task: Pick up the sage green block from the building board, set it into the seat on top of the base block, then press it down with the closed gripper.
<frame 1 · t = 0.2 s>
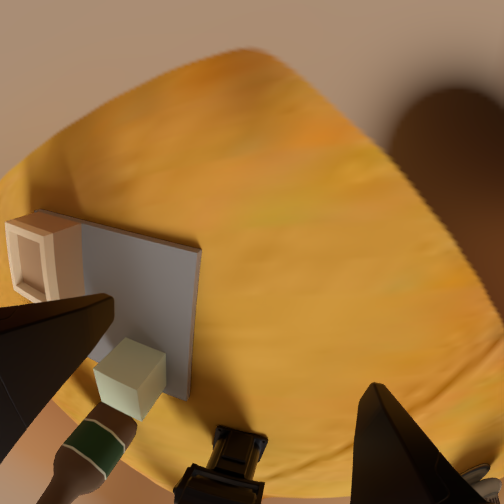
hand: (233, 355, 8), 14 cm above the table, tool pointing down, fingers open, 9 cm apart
green block: (145, 362, 28), point 1 cm above the table, touching building board
building board: (104, 303, 28), on the table
apothecary jar: (467, 476, 27), on the table
beer bottle: (119, 416, 36), on the table
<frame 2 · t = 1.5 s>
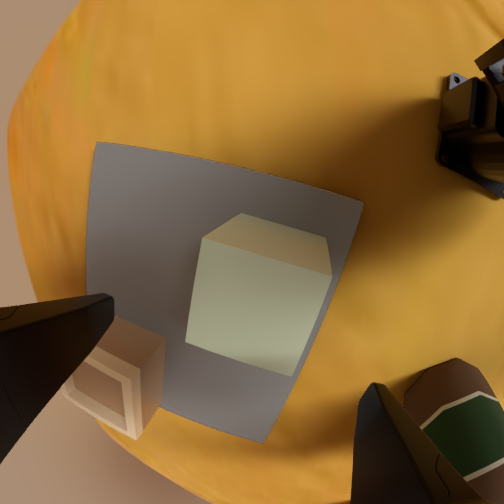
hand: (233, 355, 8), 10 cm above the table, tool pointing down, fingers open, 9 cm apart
green block: (272, 265, 17), point 1 cm above the table, touching building board
building board: (186, 314, 20), on the table
beer bottle: (439, 389, 18), on the table
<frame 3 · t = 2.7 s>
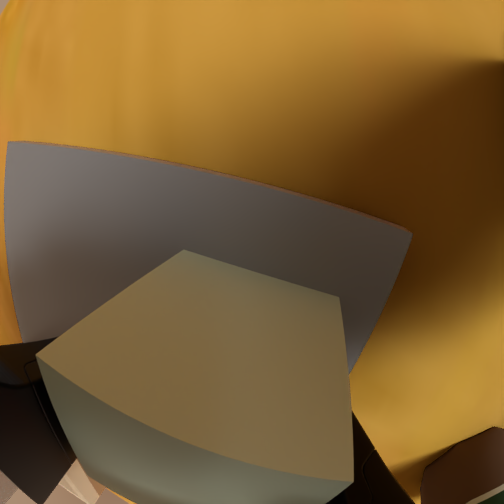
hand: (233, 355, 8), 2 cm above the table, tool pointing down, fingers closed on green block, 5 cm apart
green block: (241, 338, 9), point 1 cm above the table, touching building board, gripper
building board: (131, 380, 13), on the table
beer bottle: (466, 457, 11), on the table
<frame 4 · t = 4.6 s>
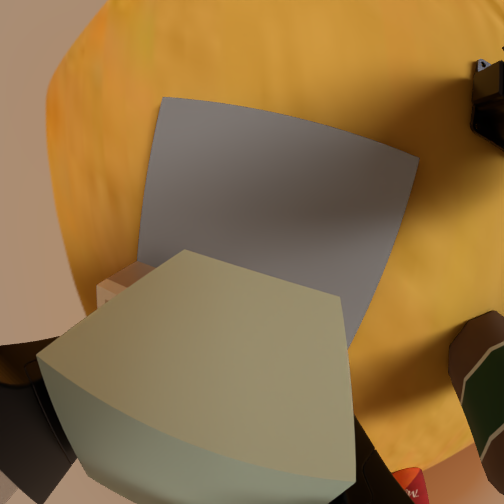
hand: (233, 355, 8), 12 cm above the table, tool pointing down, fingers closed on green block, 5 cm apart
green block: (242, 338, 9), point 11 cm above the table, touching gripper
building board: (249, 268, 21), on the table
paper cup: (403, 475, 26), on the table
beer bottle: (478, 344, 19), on the table
when the fingers open (8 cm above the table, at t = 6.3 s): green block drops 2 cm, resting on building board.
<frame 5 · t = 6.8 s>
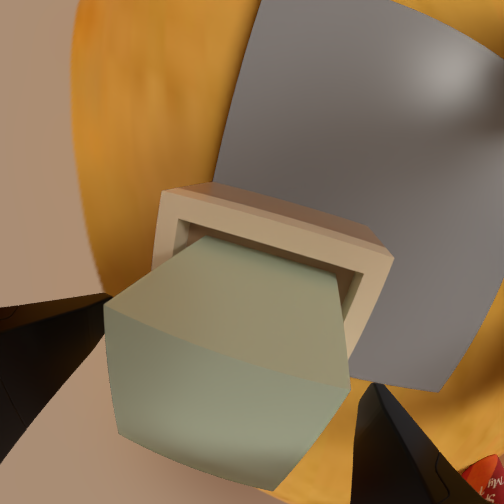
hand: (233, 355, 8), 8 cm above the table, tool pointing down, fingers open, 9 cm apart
green block: (253, 311, 11), point 5 cm above the table, touching building board
building board: (391, 191, 13), on the table
paper cup: (478, 466, 18), on the table
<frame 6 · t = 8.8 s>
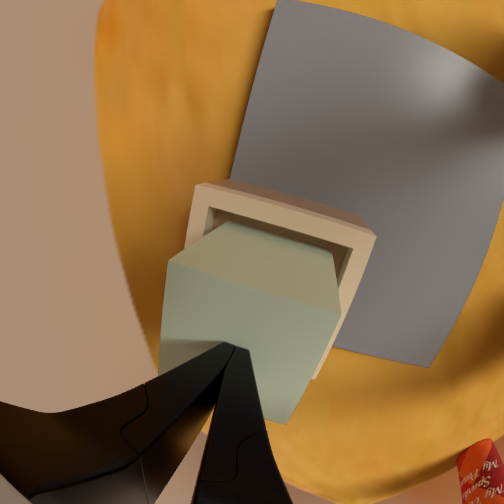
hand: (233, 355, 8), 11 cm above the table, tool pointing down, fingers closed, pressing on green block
green block: (266, 283, 14), point 5 cm above the table, touching building board, gripper
building board: (380, 187, 16), on the table
paper cup: (474, 450, 21), on the table
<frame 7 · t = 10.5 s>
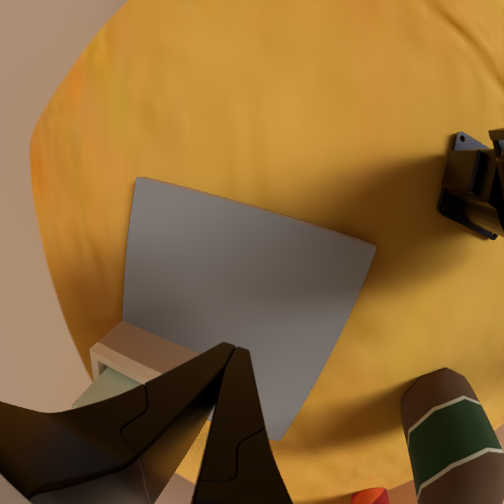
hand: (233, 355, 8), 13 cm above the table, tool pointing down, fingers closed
green block: (137, 393, 21), point 5 cm above the table, touching building board
building board: (219, 333, 23), on the table
paper cup: (369, 493, 28), on the table
beer bottle: (431, 393, 22), on the table
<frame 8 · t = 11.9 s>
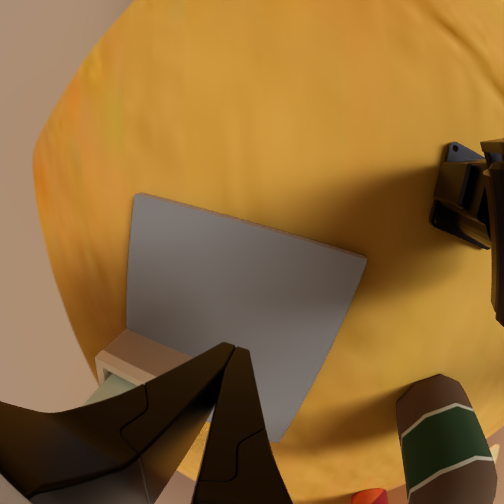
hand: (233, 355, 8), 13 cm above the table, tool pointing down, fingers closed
green block: (141, 397, 22), point 5 cm above the table, touching building board
building board: (218, 341, 24), on the table
paper cup: (368, 494, 29), on the table
beer bottle: (426, 398, 22), on the table
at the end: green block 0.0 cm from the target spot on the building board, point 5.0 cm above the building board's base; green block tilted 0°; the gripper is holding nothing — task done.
